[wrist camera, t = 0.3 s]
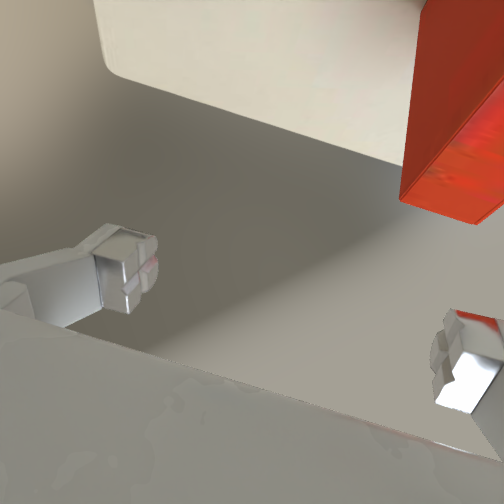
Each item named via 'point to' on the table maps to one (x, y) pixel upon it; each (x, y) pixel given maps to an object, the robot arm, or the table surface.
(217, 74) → the table surface
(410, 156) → the file binder
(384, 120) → the table surface
